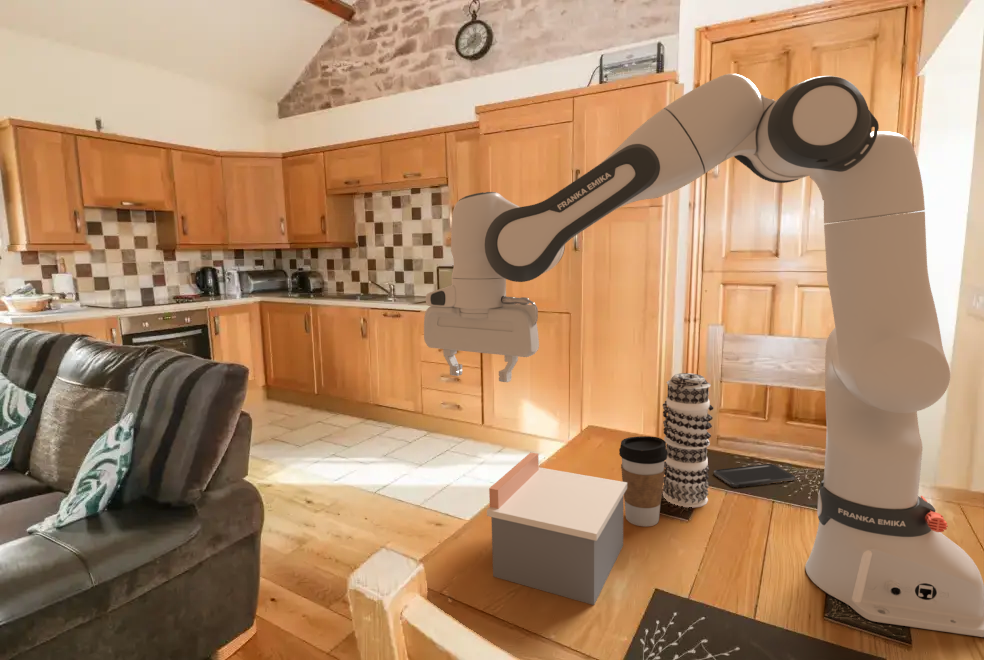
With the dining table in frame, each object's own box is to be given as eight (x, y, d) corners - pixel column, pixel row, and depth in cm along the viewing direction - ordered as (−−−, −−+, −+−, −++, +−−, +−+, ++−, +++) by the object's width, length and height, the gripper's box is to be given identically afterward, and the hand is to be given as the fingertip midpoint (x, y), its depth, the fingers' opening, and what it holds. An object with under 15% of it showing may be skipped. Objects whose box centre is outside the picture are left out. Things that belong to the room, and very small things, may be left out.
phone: (711, 470, 117) (771, 463, 120) (711, 475, 117) (771, 468, 120) (734, 485, 110) (797, 477, 112) (733, 490, 110) (797, 482, 112)
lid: (627, 488, 88) (627, 465, 88) (596, 540, 73) (596, 513, 72) (533, 471, 96) (532, 450, 96) (486, 515, 80) (486, 490, 80)
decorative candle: (673, 483, 113) (676, 368, 109) (717, 496, 106) (721, 374, 103) (652, 498, 106) (654, 376, 103) (697, 513, 100) (701, 383, 96)
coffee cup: (668, 532, 94) (670, 450, 91) (619, 528, 95) (619, 448, 93) (663, 509, 102) (664, 434, 100) (618, 506, 103) (618, 432, 101)
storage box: (623, 545, 90) (623, 489, 88) (594, 605, 75) (594, 538, 73) (535, 525, 97) (534, 473, 96) (493, 576, 82) (491, 515, 81)
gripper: (545, 296, 84) (545, 380, 86) (438, 291, 94) (440, 368, 96) (529, 299, 79) (528, 390, 81) (417, 294, 88) (419, 375, 91)
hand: (480, 378), depth 89 cm, fingers open, 8 cm apart
